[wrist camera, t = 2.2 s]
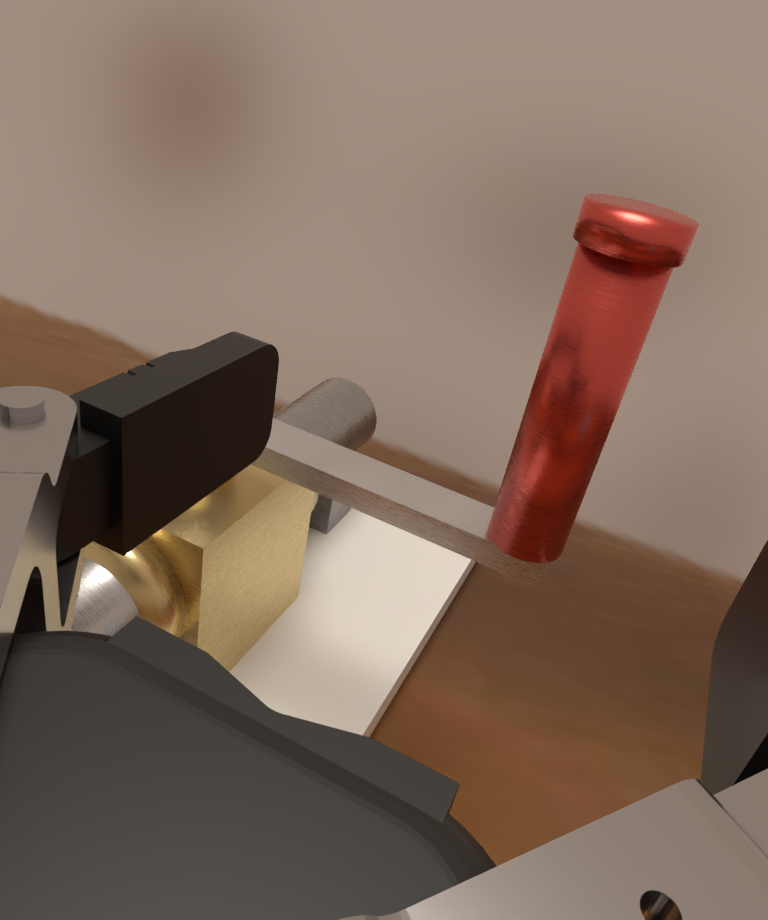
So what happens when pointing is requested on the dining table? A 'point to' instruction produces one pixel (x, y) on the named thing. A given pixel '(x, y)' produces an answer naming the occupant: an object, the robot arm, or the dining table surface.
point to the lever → (528, 406)
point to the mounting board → (353, 623)
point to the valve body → (227, 546)
